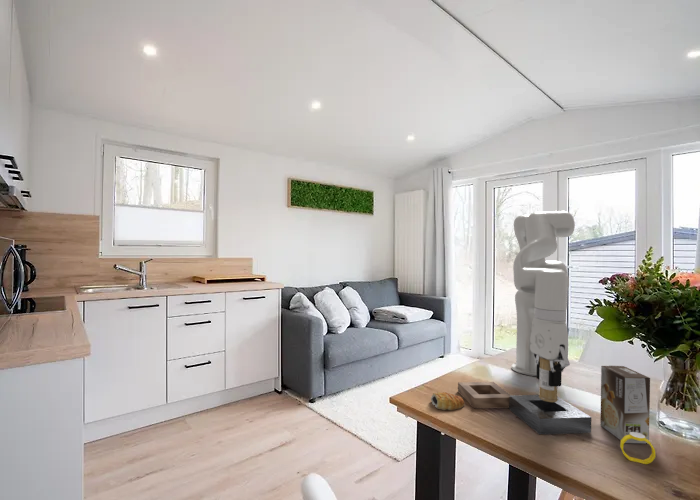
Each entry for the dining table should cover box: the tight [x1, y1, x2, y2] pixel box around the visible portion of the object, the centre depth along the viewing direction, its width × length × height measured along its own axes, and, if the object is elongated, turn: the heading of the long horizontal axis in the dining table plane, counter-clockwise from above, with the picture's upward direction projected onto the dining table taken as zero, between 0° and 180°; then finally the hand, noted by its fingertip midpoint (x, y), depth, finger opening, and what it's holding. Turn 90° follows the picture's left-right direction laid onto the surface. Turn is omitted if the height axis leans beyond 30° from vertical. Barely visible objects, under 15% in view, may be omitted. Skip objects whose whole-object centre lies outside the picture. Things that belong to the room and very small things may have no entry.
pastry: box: [430, 391, 465, 411], centre depth 105 cm, size 9×7×4 cm
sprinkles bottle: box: [538, 356, 559, 402], centre depth 97 cm, size 5×5×14 cm
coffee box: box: [599, 365, 651, 445], centre depth 90 cm, size 9×6×16 cm
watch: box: [619, 432, 657, 465], centre depth 79 cm, size 6×3×6 cm, turn 62°
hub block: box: [508, 394, 593, 435], centre depth 97 cm, size 14×14×4 cm
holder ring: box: [457, 381, 511, 409], centre depth 110 cm, size 12×12×3 cm
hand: (548, 381), depth 97 cm, fingers closed on sprinkles bottle, 4 cm apart
